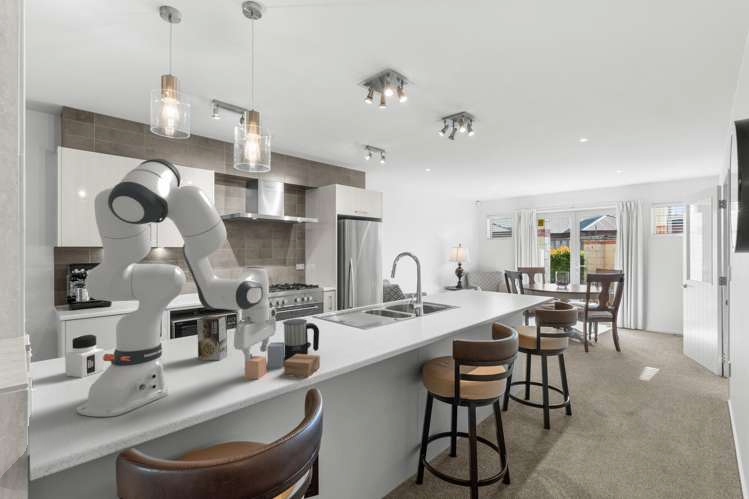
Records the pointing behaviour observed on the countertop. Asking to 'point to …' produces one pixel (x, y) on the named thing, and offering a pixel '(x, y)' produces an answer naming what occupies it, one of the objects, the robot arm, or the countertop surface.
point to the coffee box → (212, 337)
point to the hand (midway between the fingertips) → (256, 355)
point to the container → (84, 357)
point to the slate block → (276, 355)
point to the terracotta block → (255, 367)
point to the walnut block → (302, 365)
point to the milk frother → (298, 337)
